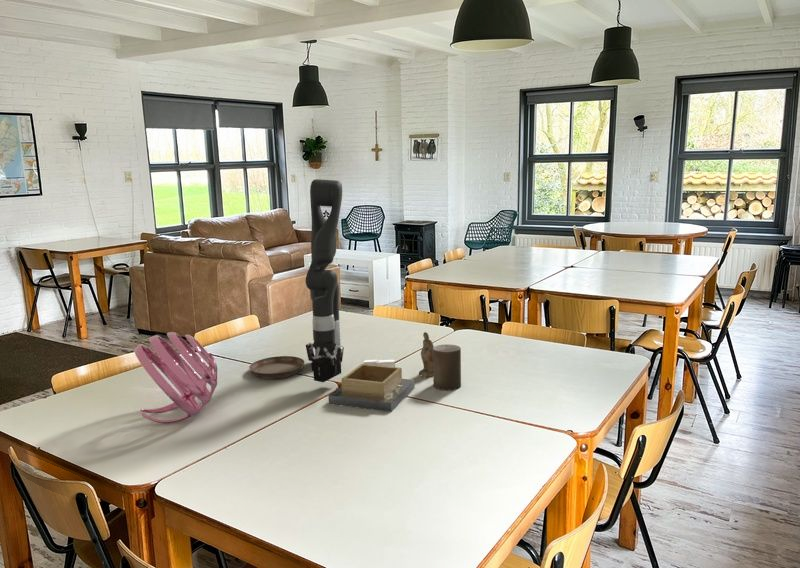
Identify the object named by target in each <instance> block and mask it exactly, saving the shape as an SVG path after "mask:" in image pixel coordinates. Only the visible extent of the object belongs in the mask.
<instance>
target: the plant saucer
mask: <svg viewBox="0 0 800 568" xmlns="http://www.w3.org/2000/svg"><path fill="white" fill-rule="evenodd" d="M304 364H305V360H304V359H303V358H302V357H298V356H293V355H291V356H290V355H280V356H279V355H277V356H270V357H266V358H265V357H264V358H262V359H258V360H256V361H254V362H252V363H250V365H249V367H248V369H249V370H250V372H251V373H253V375H255V376H256V377H259V378H261V379H267V378H269V380H270V379H274V378H276V379H282V378H283V377H284V378H288V377H291V376H294V375H296V374H297V373H299V372H300V371H301V369H303V366H304ZM274 380H275V379H274Z"/></svg>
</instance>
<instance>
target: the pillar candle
mask: <svg viewBox="0 0 800 568" xmlns="http://www.w3.org/2000/svg"><path fill="white" fill-rule="evenodd" d="M461 350H462V348H461V346H459V345H456V344H448V343H447V344H439V345H436V346H434V347H433V378H432V379H433V381H432V382H433V387H434V388H436V389H438V390H441V391H442V390H443V391H453V390H458V389H460V388H461V387H462V356H461V354H462V352H461Z"/></svg>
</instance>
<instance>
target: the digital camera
mask: <svg viewBox="0 0 800 568" xmlns="http://www.w3.org/2000/svg"><path fill="white" fill-rule="evenodd" d="M335 355H336V357H337V354H335ZM333 360H334V358H333ZM331 365H332V364H331V362H330V360H329V359H328V357H327V356H324V357H321V358H319V359H314V360H313V361H311V364H310V370H311V371H312V372H313V374H312V375H313V381H315V382H320V383H325V382H327V381H329V380H331V379H333V378H335V377H336V376H338V375H341V374H342V362H341V363H339V364H337V373H336V374H335V375H331Z"/></svg>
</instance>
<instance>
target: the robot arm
mask: <svg viewBox="0 0 800 568" xmlns="http://www.w3.org/2000/svg"><path fill="white" fill-rule="evenodd" d="M342 185H343V184H342V183H341V181H340V180H334V179H321V178H319V179H318V178H317V179H313V180H312V181H311V183H310V185H309V186H310V187H309V195H310V197H309V199H310V201H309V203H310V213H311V215H310V216H311V217H310V218H311V234H310V250H311V251H310V252H311V256H310V257H311V262H310V266H309V268H308V270H307V272H306V276H305V285H306V288H307V289H308V290H309V291H310V293H309V294H310V299H311V303H312V304H311V305H312V340H313V343H312V342H308V343H306V344H305V349H306V350H305V351H306V354H307V359H308V361H309V362H312V361H313V360H314V359H319V358H321V357H324V356H327V357H328V359H329V360H330V362H331V364H332V365H331V375H335V374H336V373H337V364H339V363H341V364H342V362H343V358H344V349H345V348H344V346H343V345H342V346H341V328H340V326H341V325H340V304H339V303H340V301H339V300H340V287H339V282H338V276H337V273H336V272H335V271H334V270H332V269H327V268H328V266H329V265H330V264H332V263H333V262H334V259H335V258H334V257H335V256H336V254H337V236H336V234H337V228H338V224H339V219H340V213H341V207H342V201H343V200H342V199H343V186H342ZM321 207H331V210H330V213H329V215H328V217H327V218H325V216H324V213H323V211H322V208H321ZM335 354H337V357H336V355H335ZM333 358H334V360H333Z"/></svg>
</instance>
